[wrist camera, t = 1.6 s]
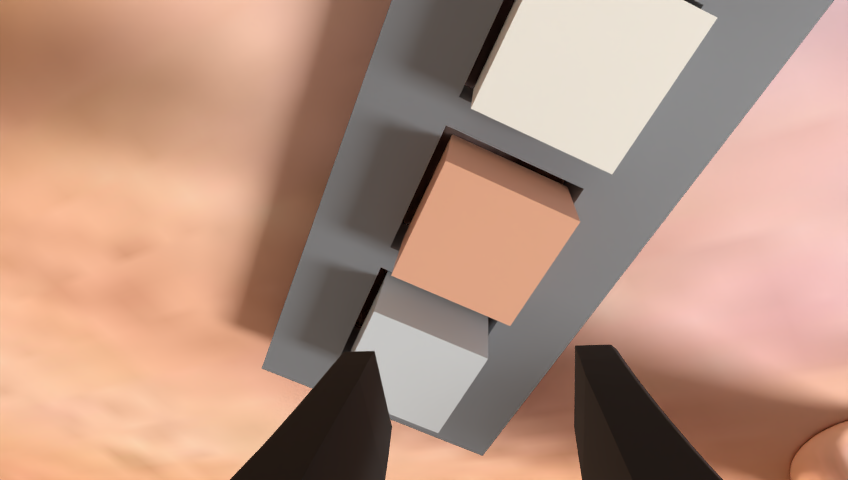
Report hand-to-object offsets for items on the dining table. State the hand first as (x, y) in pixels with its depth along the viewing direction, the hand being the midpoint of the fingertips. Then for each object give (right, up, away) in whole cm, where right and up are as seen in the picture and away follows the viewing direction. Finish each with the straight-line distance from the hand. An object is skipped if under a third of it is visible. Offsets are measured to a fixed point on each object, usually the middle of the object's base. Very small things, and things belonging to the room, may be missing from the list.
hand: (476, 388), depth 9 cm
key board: (+1, +4, +8) cm, 9 cm away
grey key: (-1, -1, +9) cm, 10 cm away
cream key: (+3, +8, +4) cm, 10 cm away
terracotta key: (+1, +4, +7) cm, 8 cm away
